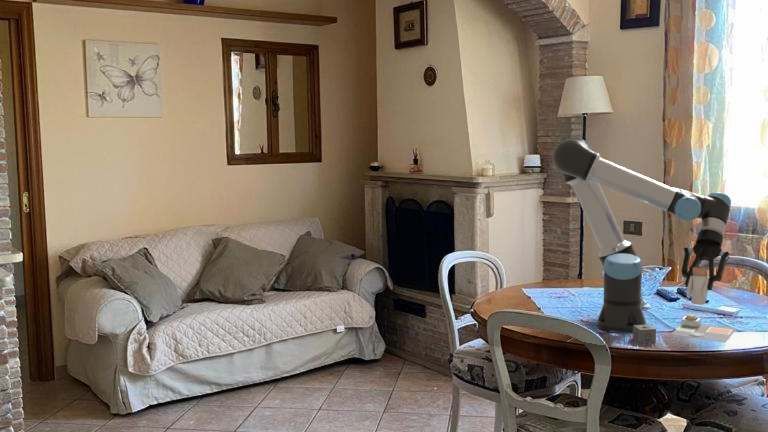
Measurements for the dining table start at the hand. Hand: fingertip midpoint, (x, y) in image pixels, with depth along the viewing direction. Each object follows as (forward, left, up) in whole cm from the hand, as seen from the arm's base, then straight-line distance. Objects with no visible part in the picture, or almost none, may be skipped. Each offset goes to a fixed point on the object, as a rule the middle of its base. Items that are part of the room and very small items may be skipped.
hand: (695, 296), depth 230 cm
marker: (0, +4, -3) cm, 5 cm away
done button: (-4, +14, -11) cm, 18 cm away
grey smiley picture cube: (-12, -10, -14) cm, 21 cm away
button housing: (-4, +14, -13) cm, 19 cm away
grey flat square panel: (+1, +9, -14) cm, 16 cm away
